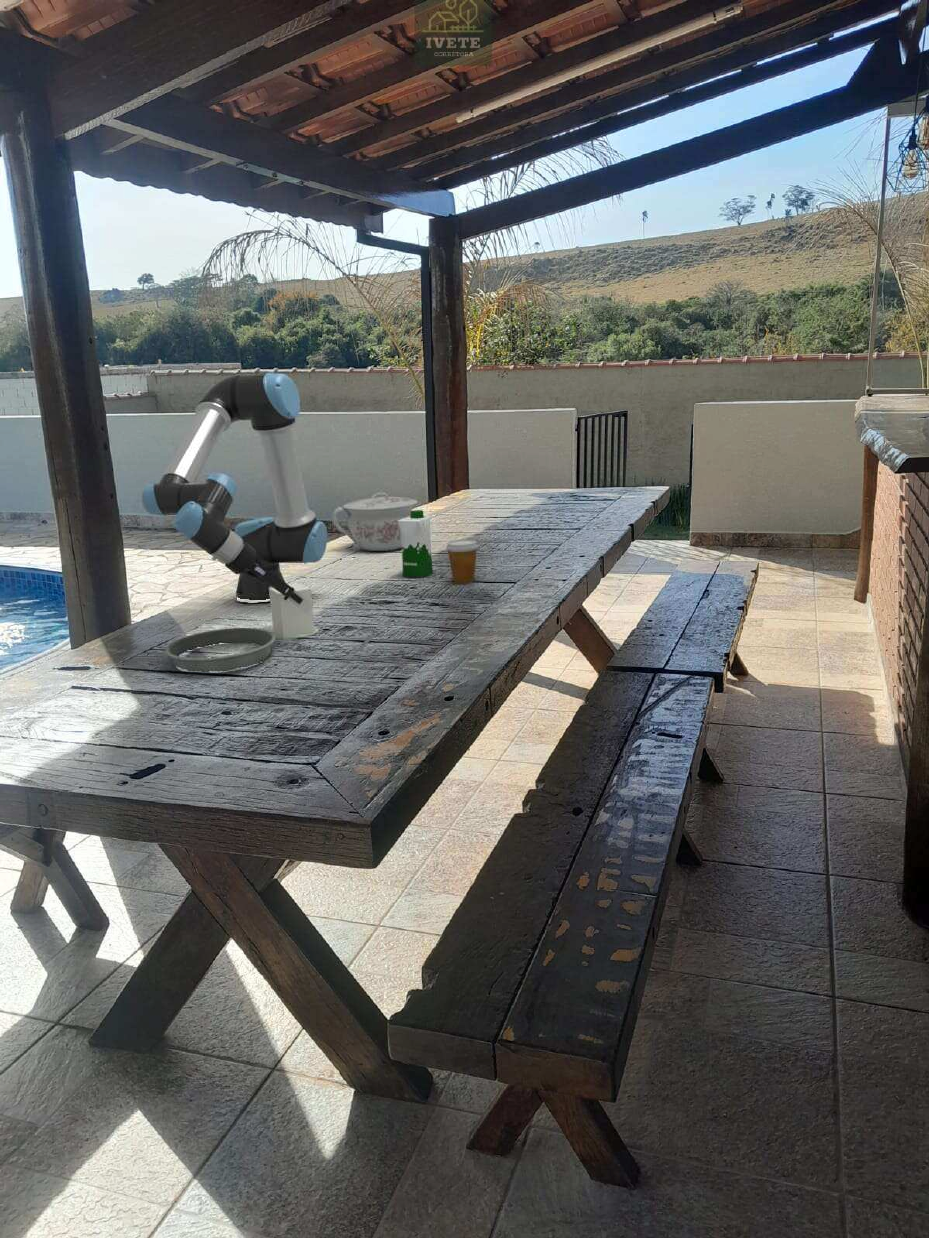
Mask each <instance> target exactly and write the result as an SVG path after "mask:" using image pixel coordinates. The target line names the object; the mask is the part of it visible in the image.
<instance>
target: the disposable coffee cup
mask: <svg viewBox="0 0 929 1238" xmlns="http://www.w3.org/2000/svg"><path fill="white" fill-rule="evenodd" d="M478 546H479V545H478V544H477V540H473V539H456V540H450V541H448V542H447V543H446V547H445V549H446V551H447V552H448V553H447V554H448V560H449V563H450V570H451V575H452V580H453V583H455V584H461V585H462V584H471V583H473V582H475V574H476V559H477V549H478Z"/></svg>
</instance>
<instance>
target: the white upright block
mask: <svg viewBox="0 0 929 1238" xmlns="http://www.w3.org/2000/svg"><path fill="white" fill-rule="evenodd" d="M288 585H289V586H291V587H293V588H294V589H295V591H297V592H298V593H299V594H301V595H302V596H303V597H304V598H306V599H307V600H308V601H310V602H311V603H312V604H313V602H312V601H313V599H312V591H311V588H310V587H307V586H306V585H303V584H302V583H300V582H299V583H294V584H288ZM287 591H288V589H287ZM287 591H286V592H287ZM269 595H270V602H269V603H270V604H269V605H270V611H271V612H270V613H271V621H272V631H274V632H276V633H277V634H279V635H280V636H282V637H283V638H282V639H284V638H286V637H292V636H297V635H302V634H308V633H313V632H315V628H314V626H315V620H314V618H315V617H314V612H313V611H314V610H313V609H314V608H313V607H312V608H311V609H310V611H309V612H308V613H305V612H304V611H303V610H301V609H300V608H299V607H297V606H296V605H295V604H293V603H292V602H291V601H289V600H288V599H287V600H284V597H285V596H284V595H283V594H281V593H280V592H278V591H277V590H276V589H274V588H269Z"/></svg>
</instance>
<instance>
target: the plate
mask: <svg viewBox="0 0 929 1238" xmlns="http://www.w3.org/2000/svg"><path fill="white" fill-rule="evenodd" d="M314 628H315V632H313V633H308V634H302V635H297V636H292V637H286V638H283V637H282V636H280V635H279V634H277V633H276V632H274V631H273V630H272V631H270V632H271V633H273V634H274V635H275V637H276V638H275V639H285V640H286V639H297V638H298V639H299V638H303V637H308V636H311V635H315V634H316V633H318V632H319V627H317V626H315V625H314Z"/></svg>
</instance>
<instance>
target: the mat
mask: <svg viewBox="0 0 929 1238" xmlns="http://www.w3.org/2000/svg"><path fill="white" fill-rule="evenodd" d="M373 637H374V634H369V635H368V636H367V637H366V638H365V640H364V641H363V642H362V644H361V645H360V646H359V647H358V648H357V651H358V650H359V651H361V650H364V648H365V647H366V646H367V645H368V643H369V642H370V641H371V639H372V638H373Z"/></svg>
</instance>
